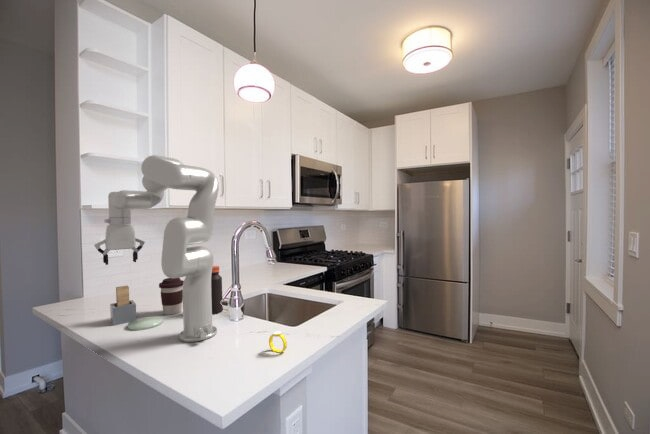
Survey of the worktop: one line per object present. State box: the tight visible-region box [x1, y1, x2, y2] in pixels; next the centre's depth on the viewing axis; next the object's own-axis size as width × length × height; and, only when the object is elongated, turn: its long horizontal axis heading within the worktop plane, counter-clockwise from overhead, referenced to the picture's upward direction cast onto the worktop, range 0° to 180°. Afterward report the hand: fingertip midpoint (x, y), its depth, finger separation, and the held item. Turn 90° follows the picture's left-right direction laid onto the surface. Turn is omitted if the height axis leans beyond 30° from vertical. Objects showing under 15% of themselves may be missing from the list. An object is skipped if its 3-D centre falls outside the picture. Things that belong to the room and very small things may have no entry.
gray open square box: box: [109, 299, 137, 326], centre depth 127 cm, size 8×8×7 cm
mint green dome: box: [127, 315, 164, 331], centre depth 121 cm, size 12×12×1 cm
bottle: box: [211, 265, 224, 315], centre depth 135 cm, size 7×7×20 cm
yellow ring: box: [268, 330, 288, 354], centre depth 95 cm, size 6×3×6 cm, turn 61°
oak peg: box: [115, 285, 130, 307], centre depth 126 cm, size 4×4×14 cm
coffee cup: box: [158, 277, 184, 316], centre depth 136 cm, size 10×10×15 cm
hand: (121, 263), depth 126 cm, fingers open, 9 cm apart
